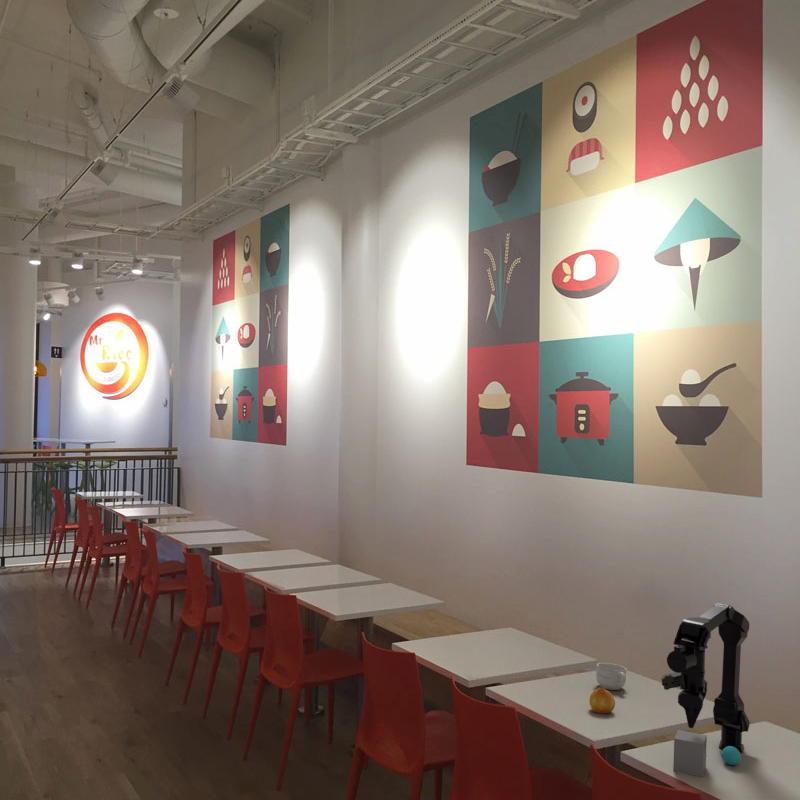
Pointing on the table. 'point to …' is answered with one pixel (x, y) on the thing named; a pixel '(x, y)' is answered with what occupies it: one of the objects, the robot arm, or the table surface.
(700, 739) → the gray wedge-topped block
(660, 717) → the table surface
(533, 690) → the table surface
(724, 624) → the robot arm
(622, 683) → the teacup
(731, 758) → the ball
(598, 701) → the fruit
